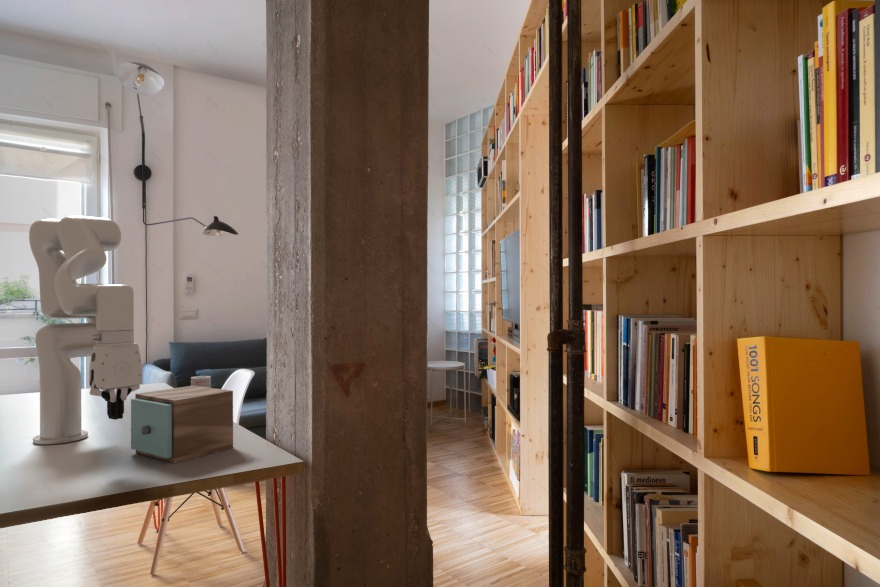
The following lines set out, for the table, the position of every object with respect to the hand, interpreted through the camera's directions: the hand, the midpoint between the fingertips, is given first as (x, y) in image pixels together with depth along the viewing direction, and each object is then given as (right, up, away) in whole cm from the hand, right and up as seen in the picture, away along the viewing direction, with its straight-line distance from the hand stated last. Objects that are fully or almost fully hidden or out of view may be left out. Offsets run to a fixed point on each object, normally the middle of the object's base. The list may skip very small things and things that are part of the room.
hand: (115, 418), depth 132 cm
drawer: (+8, -10, +12) cm, 18 cm away
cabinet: (+10, -11, +14) cm, 20 cm away
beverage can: (+3, -12, +40) cm, 42 cm away
